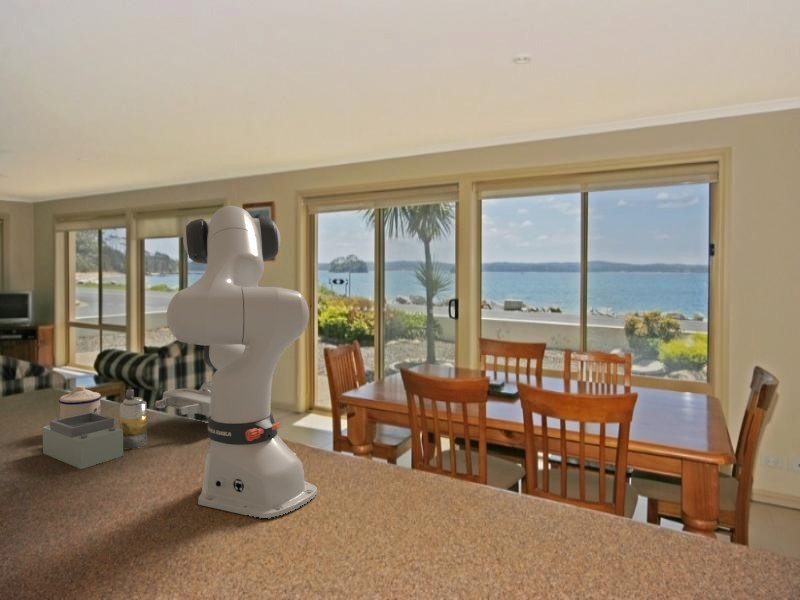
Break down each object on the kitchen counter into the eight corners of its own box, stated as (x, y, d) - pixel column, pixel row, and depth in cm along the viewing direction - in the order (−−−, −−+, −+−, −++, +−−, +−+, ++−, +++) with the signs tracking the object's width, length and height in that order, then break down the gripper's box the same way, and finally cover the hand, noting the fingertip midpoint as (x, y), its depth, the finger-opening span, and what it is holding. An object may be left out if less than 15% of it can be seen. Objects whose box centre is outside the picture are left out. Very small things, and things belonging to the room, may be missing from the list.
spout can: (152, 444, 125) (151, 390, 125) (129, 451, 121) (128, 395, 120) (138, 439, 128) (137, 386, 128) (115, 446, 124) (114, 391, 123)
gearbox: (123, 456, 117) (122, 421, 117) (81, 469, 110) (80, 431, 109) (76, 439, 128) (75, 406, 127) (34, 449, 120) (33, 415, 120)
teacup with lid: (98, 435, 131) (97, 389, 130) (55, 439, 127) (54, 391, 127) (105, 421, 142) (105, 379, 141) (66, 424, 139) (65, 381, 138)
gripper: (189, 380, 149) (143, 389, 137) (239, 390, 138) (194, 401, 126) (190, 402, 149) (144, 413, 137) (239, 414, 138) (194, 427, 127)
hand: (168, 408), depth 132 cm, fingers open, 8 cm apart
